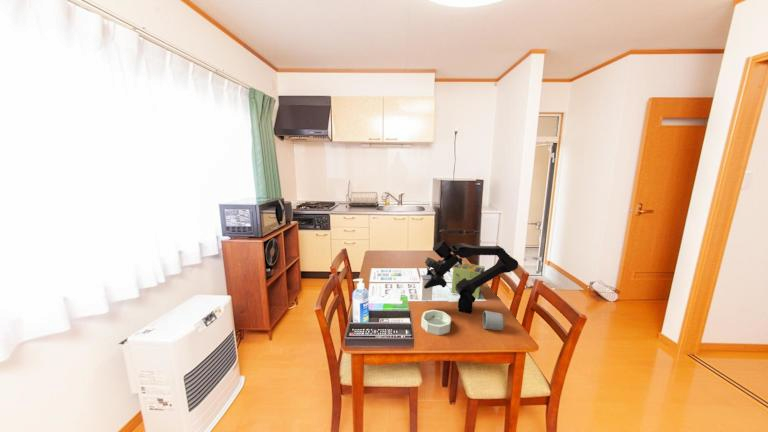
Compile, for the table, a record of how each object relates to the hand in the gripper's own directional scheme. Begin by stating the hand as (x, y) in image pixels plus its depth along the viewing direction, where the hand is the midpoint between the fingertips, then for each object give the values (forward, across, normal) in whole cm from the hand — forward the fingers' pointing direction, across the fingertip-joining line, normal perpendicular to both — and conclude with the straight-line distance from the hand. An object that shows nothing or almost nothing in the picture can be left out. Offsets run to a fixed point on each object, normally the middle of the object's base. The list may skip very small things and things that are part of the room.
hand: (423, 285), depth 130 cm
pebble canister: (+4, 0, +6) cm, 7 cm away
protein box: (-11, -18, +31) cm, 38 cm away
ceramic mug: (-11, +14, +30) cm, 35 cm away
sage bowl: (+7, +13, +12) cm, 19 cm away
